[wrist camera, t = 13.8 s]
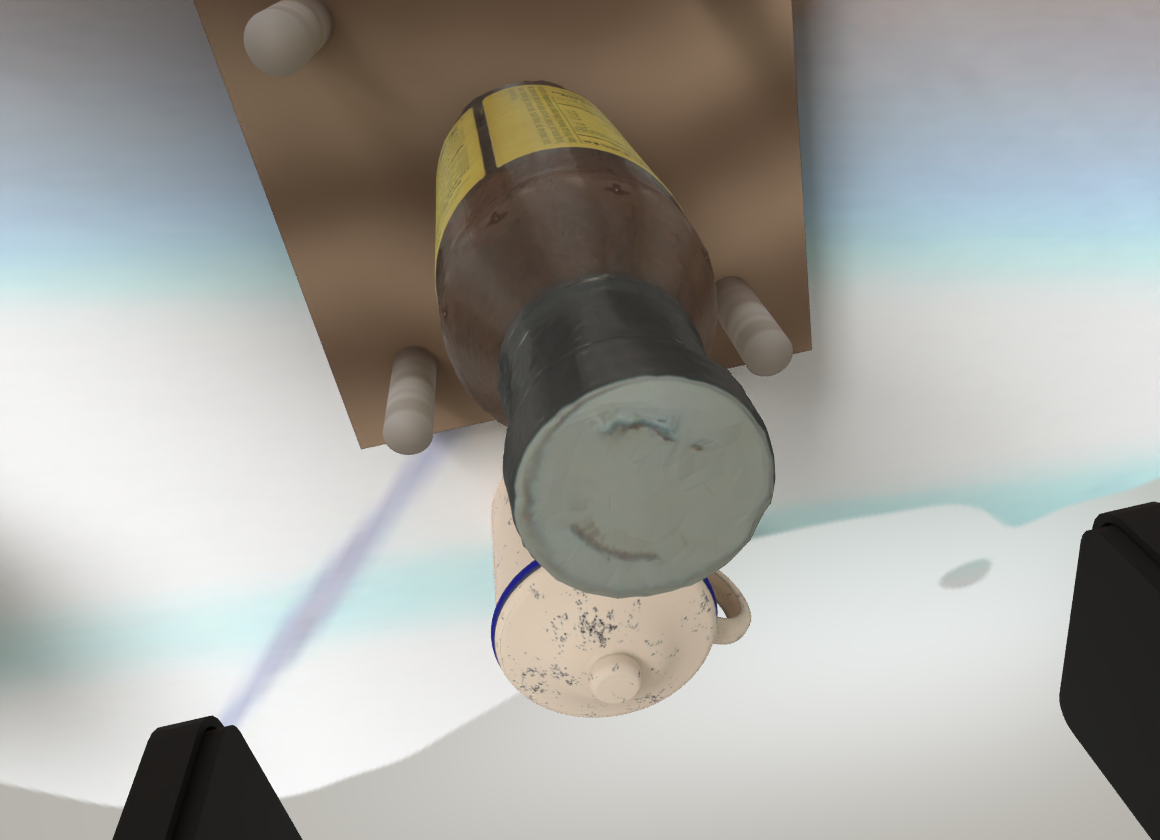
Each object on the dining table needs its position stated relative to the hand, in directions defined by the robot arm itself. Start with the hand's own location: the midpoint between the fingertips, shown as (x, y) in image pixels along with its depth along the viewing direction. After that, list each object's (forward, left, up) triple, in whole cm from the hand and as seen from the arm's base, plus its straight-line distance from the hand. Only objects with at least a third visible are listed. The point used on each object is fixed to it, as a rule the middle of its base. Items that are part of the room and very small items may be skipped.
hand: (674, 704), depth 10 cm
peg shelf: (0, 0, -28) cm, 28 cm away
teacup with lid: (+18, 0, -28) cm, 34 cm away
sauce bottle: (0, 0, -24) cm, 24 cm away
